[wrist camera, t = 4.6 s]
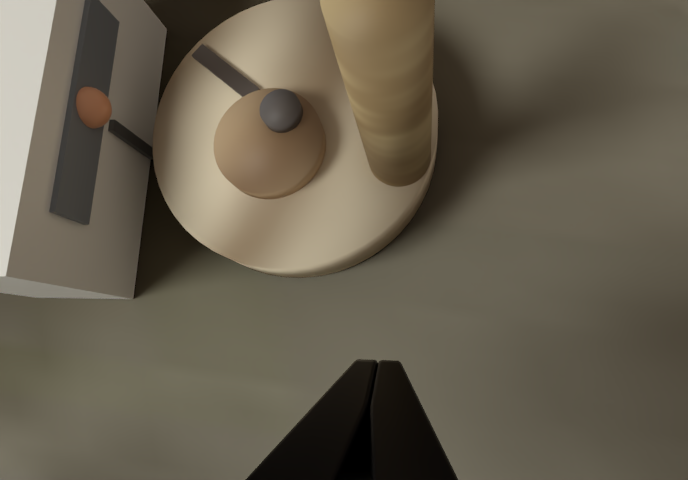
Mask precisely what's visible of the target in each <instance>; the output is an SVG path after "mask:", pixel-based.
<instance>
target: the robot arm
mask: <svg viewBox="0 0 688 480" xmlns="http://www.w3.org/2000/svg"><path fill="white" fill-rule="evenodd" d="M246 480H458V478H457V476H456V474H455V472H454V470H453V468H452V466H451V464H450V462H449V460H448V458H447V456H446V454H445V452H444V450H443V448H442V446H441V444H440V442H439V440H438V438H437V436H436V433H435V431H434V429H433V427H432V425H431V423H430V421H429V419H428V417H427V415H426V413H425V411H424V409H423V407H422V405H421V403H420V401H419V399H418V397H417V395H416V393H415V391H414V389H413V386H412V384H411V382H410V380H409V378H408V376H407V374H406V372H405V370H404V368H403V366H402V364H401V363H400V362H399V361H390V360H381V361H379V363H377V361H376V360H361V359H358V360H356V361H355V362H354V363H353V364H352V365H351V366H350V367H349V368H348V369H347V370H346V371H345V372H344V373H343V375H342V376H341V377H340V378H339V379H338V380H337V381H336V382H335V383H334V384H333V385H332V386H331V388H330V389H329V390H328V391H327V392H326V393H325V394H324V395H323V396H322V397H321V398H320V399H319V401H318V402H317V403H316V404H315V405H314V406H313V407H312V408H311V409H310V410H309V411H308V413H307V414H306V415H305V416H304V417H303V418H302V419H301V420H300V421H299V422H298V423H297V424H296V426H295V427H294V428H293V429H292V430H291V431H290V432H289V433H288V434H287V435H286V436H285V438H284V439H283V440H282V441H281V442H280V443H279V444H278V445H277V446H276V447H275V448H274V449H273V451H272V452H271V453H270V454H269V455H268V456H267V457H266V458H265V459H264V460H263V461H262V463H261V464H260V465H259V466H258V467H257V468H256V469H255V470H254V471H253V472H252V473H251V474H250V476H249V477H248V478H247V479H246Z"/></svg>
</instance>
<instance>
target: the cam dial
mask: <svg viewBox="0 0 688 480" xmlns="http://www.w3.org/2000/svg"><path fill="white" fill-rule="evenodd" d="M434 8H435V0H272V1H268V2H265V3H262V4H259V5H256V6H253V7H251V8H249V9H246V10H244V11H242V12H240V13H238V14H236V15H234V16H233V17H231V18H229V19H227V20H225V21H224V22H222V23H221V24H220V25H218V26H217V27H216V28H214V29H213V30H211V31H210V32H209V33H208V34H207V35H206V36H204V37H203V38H202V39H201V40H200V41H199V42H198V43H197V44H196V45H195V46H194V47H193V48H192V49H191V50H190V52H189V53H188V54H187V55H186V56H185V57H184V59H183V60H182V61H181V63H180V64H179V66H178V67H177V68H176V70H175V71H174V73H173V75H172V77H171V79H170V80H169V82H168V84H167V86H166V88H165V91H164V93H163V96H162V98H161V100H160V103H159V107H158V111H157V114H156V118H155V124H154V131H153V160H154V169H155V173H156V177H157V181H158V184H159V187H160V190H161V192H162V194H163V197H164V199H165V201H166V203H167V205H168V206H169V208H170V210H171V211H172V213H173V215H174V216H175V217H176V219H177V220H178V221H179V222H180V224H181V225H182V226H183V227H184V228H185V230H187V231H188V232H189V233H190V234H191V235H192V236H193V237H194V238H195V239H196V240H198V241H199V242H200V243H202V244H203V245H205V246H206V247H208V248H209V249H211V250H212V251H214V252H216V253H218V254H220V255H222V256H225V257H227V258H229V259H231V260H233V261H235V262H237V263H239V264H241V265H244V266H246V267H248V268H250V269H252V270H255V271H259V272H262V273H265V274H268V275H274V276H280V277H292V278H306V277H315V276H322V275H327V274H331V273H335V272H339V271H341V270H344V269H347V268H349V267H352V266H355V265H357V264H358V263H360V262H362V261H364V260H366V259H368V258H370V257H372V256H373V255H374V254H376V253H377V252H379V251H380V250H381V249H383V248H384V247H386V246H387V245H388V244H389V243H390V242H391V241H392V240H393V239H394V238H395V237H397V236H398V235H399V234H400V233H401V232H402V230H403V229H404V228H405V227H406V226H407V224H408V223H409V222H410V221H411V220H412V218H413V216H414V215H415V213H416V212H417V210H418V209H419V207H420V205H421V204H422V202H423V199H424V197H425V195H426V193H427V191H428V188H429V186H430V182H431V179H432V176H433V172H434V167H435V161H436V154H437V135H438V106H437V99H436V92H435V88H434V85H433V50H434Z"/></svg>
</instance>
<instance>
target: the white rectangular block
mask: <svg viewBox="0 0 688 480" xmlns="http://www.w3.org/2000/svg"><path fill="white" fill-rule="evenodd" d="M166 33H167V29H166V27H165V26H164V25H163V24H162V22H161V21H160V20H159V19H158V17H157V16H156V15H155V14H154V12H153V11H152V10H151V9H150V7H149V6H148V5H147V4H146V2H145V1H144V0H0V293H7V294H14V295H21V296H29V297H36V298H94V299H133V297H134V289H135V281H136V273H137V265H138V257H139V249H140V241H141V233H142V225H143V217H144V209H145V201H146V193H147V185H148V177H149V169H150V161H151V159H153V147H152V145H153V131H154V124H155V118H156V113H157V105H158V97H159V89H160V81H161V73H162V65H163V57H164V49H165V41H166Z"/></svg>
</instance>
